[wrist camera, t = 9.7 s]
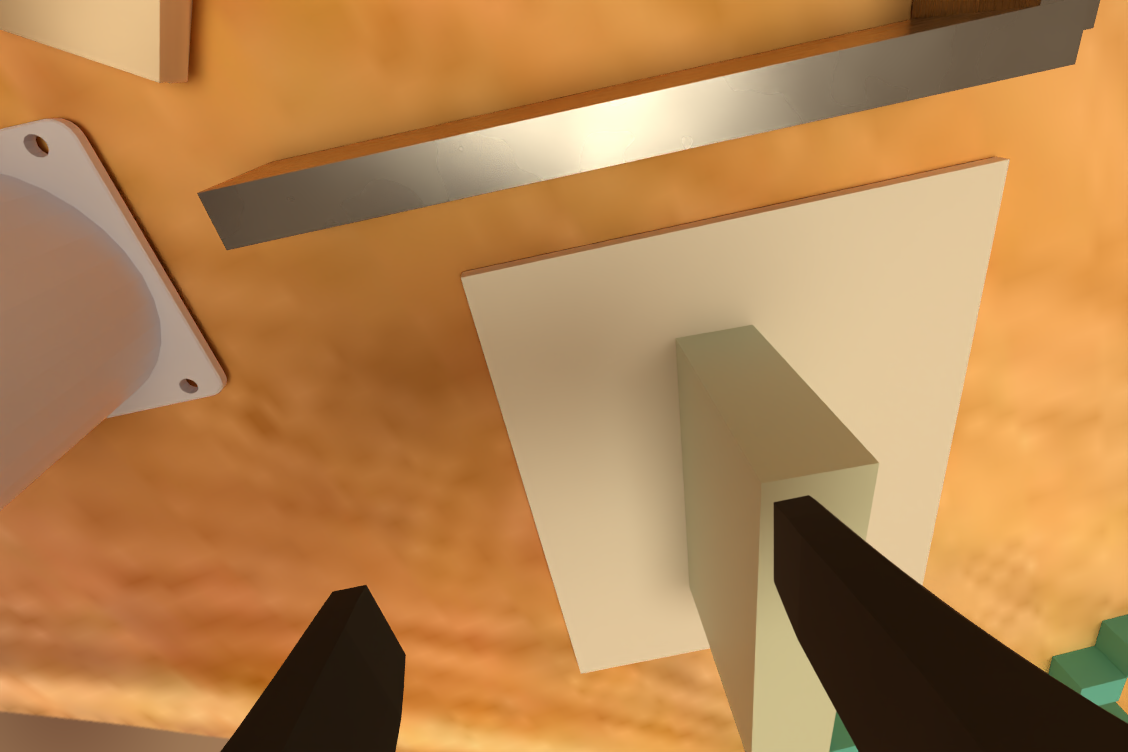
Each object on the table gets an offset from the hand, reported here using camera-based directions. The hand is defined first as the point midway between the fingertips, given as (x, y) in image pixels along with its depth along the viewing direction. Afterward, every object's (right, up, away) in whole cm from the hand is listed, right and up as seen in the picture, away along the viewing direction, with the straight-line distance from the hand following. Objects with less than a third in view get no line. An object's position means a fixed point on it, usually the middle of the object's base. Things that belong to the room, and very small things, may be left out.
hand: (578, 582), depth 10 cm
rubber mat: (+6, 0, +12) cm, 13 cm away
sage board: (+5, 0, +11) cm, 12 cm away
